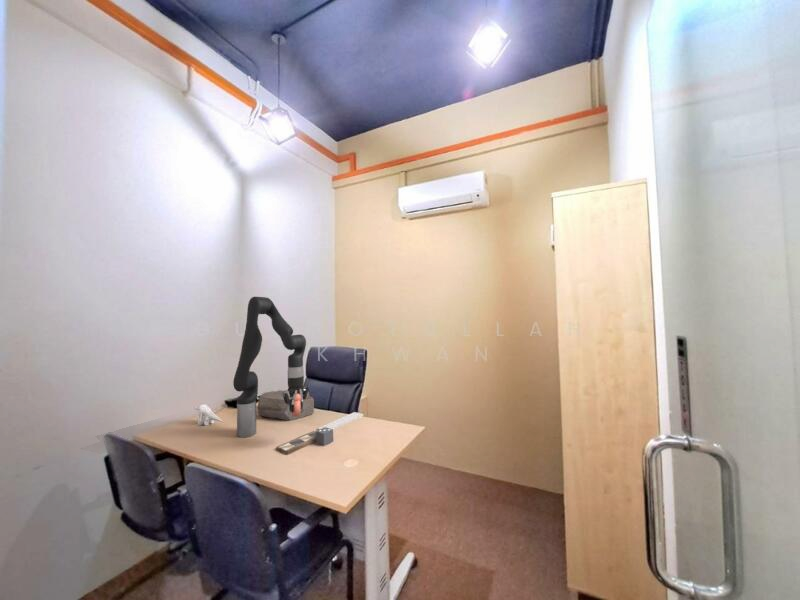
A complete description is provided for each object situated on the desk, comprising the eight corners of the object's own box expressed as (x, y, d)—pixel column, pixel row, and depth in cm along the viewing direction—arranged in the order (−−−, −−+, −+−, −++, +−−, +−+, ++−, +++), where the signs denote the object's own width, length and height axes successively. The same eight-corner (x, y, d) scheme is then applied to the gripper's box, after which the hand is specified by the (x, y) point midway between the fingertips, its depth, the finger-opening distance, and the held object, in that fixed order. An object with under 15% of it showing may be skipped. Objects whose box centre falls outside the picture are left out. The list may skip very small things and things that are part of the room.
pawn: (289, 415, 148) (289, 393, 148) (297, 412, 152) (297, 391, 152) (295, 416, 146) (294, 394, 146) (303, 414, 149) (302, 392, 150)
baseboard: (314, 430, 169) (326, 434, 163) (314, 424, 169) (326, 428, 163) (351, 413, 194) (363, 416, 188) (351, 409, 194) (363, 411, 188)
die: (315, 443, 151) (315, 430, 151) (325, 438, 155) (325, 426, 156) (324, 446, 147) (323, 433, 147) (333, 441, 152) (333, 429, 152)
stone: (323, 409, 200) (321, 386, 200) (296, 425, 176) (294, 399, 176) (279, 406, 214) (277, 385, 214) (248, 421, 189) (246, 397, 189)
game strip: (276, 449, 144) (276, 446, 144) (313, 433, 162) (313, 430, 162) (287, 454, 139) (287, 451, 139) (324, 437, 157) (324, 434, 157)
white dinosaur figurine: (198, 418, 187) (200, 400, 186) (227, 427, 178) (229, 408, 178) (187, 422, 180) (189, 404, 180) (217, 431, 172) (218, 412, 172)
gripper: (303, 372, 157) (303, 405, 157) (278, 377, 146) (278, 413, 145) (312, 373, 153) (312, 407, 152) (287, 379, 141) (288, 416, 141)
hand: (296, 410), depth 149 cm, fingers closed on pawn, 4 cm apart
